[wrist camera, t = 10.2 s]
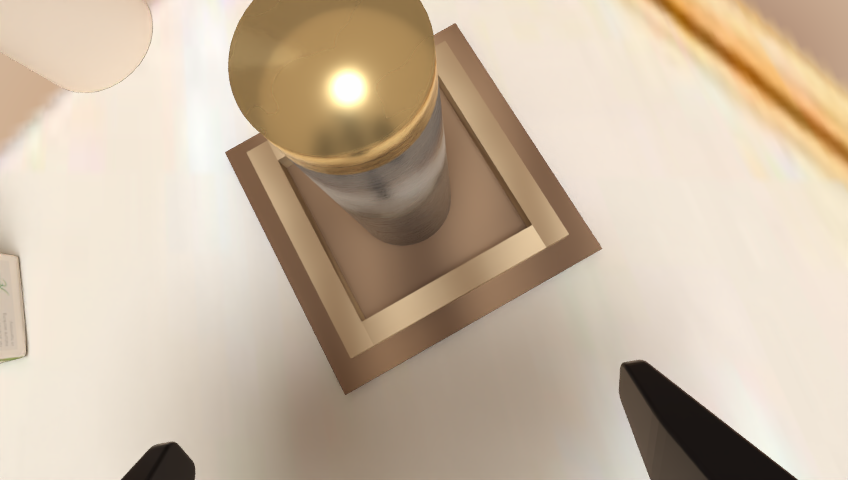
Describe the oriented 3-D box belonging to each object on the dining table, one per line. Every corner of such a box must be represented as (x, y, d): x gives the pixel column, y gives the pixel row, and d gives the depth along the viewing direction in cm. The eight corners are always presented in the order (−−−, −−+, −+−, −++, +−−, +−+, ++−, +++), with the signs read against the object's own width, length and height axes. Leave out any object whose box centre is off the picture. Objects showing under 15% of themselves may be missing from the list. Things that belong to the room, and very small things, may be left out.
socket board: (348, 393, 23) (338, 399, 21) (230, 156, 25) (213, 144, 24) (598, 250, 23) (609, 244, 21) (455, 30, 25) (454, 8, 24)
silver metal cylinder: (419, 263, 23) (362, 192, 10) (338, 216, 24) (188, 93, 11) (468, 180, 23) (473, 12, 11) (387, 136, 24) (300, -70, 11)
